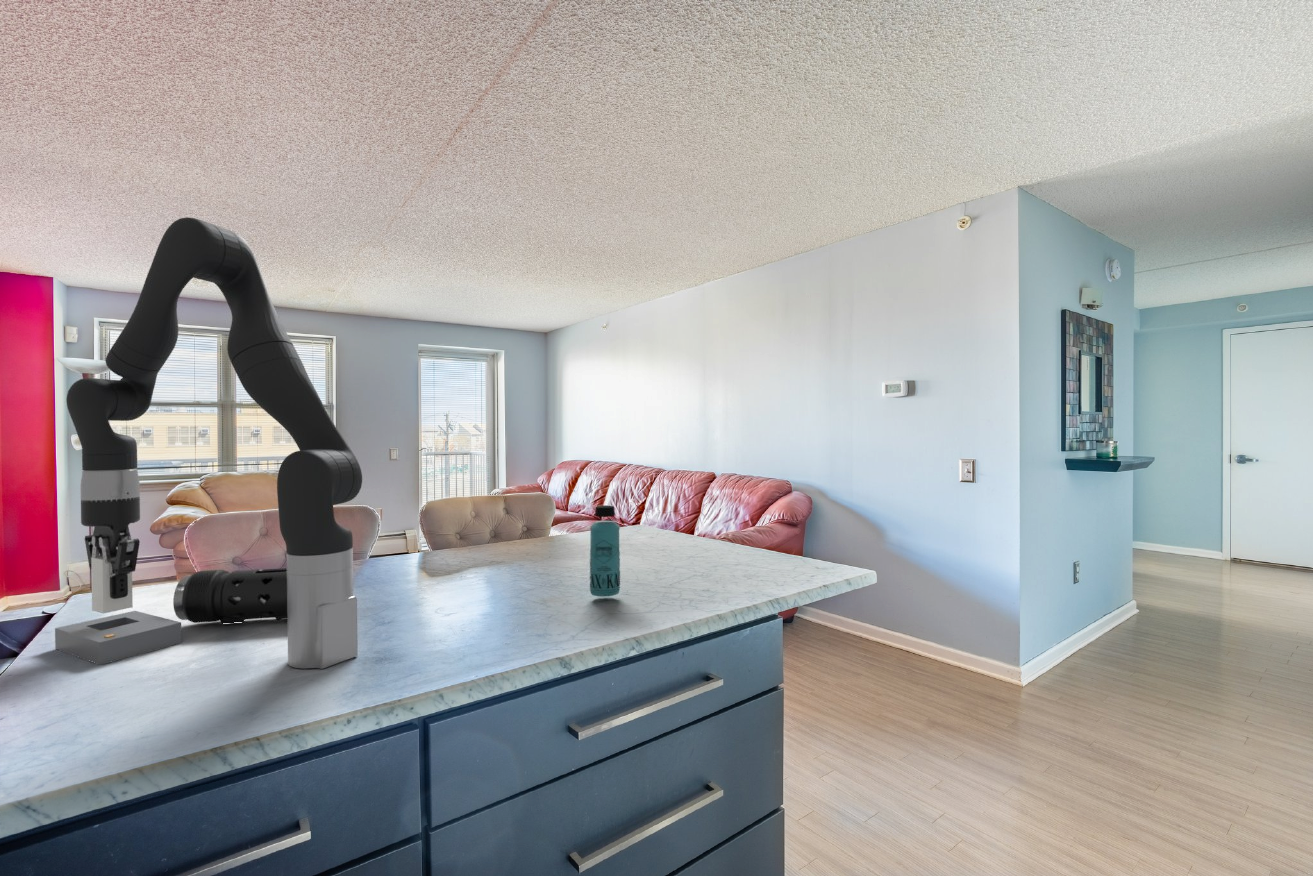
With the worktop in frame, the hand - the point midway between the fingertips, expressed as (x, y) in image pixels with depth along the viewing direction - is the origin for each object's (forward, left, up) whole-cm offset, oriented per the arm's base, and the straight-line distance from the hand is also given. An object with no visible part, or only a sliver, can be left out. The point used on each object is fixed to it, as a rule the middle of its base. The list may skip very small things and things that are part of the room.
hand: (112, 595), depth 104 cm
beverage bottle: (-62, -60, -9) cm, 86 cm away
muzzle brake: (-11, -20, -9) cm, 24 cm away
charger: (0, 0, -2) cm, 2 cm away
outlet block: (-2, 0, -8) cm, 9 cm away
